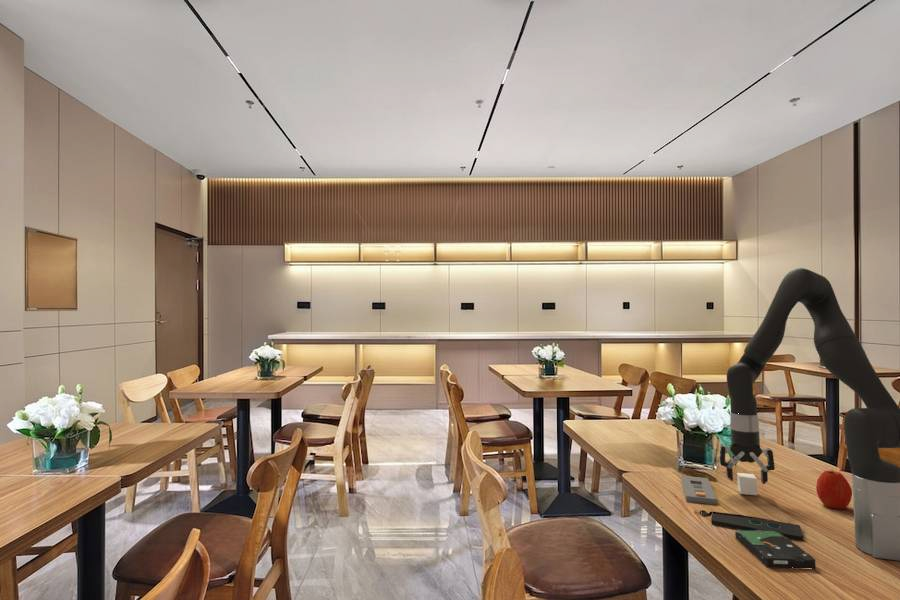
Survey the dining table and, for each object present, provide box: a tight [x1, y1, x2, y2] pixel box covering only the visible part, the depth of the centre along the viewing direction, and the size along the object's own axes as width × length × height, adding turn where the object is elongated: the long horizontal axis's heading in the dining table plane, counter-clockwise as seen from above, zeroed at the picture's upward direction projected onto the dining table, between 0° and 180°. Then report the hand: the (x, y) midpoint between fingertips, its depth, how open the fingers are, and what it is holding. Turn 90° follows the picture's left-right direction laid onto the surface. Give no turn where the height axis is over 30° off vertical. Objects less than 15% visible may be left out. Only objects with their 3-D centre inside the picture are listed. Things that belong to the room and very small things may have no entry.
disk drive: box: [734, 529, 817, 570], centre depth 112 cm, size 10×3×15 cm
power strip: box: [680, 475, 718, 517], centre depth 145 cm, size 26×8×4 cm, turn 158°
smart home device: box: [710, 511, 804, 542], centre depth 125 cm, size 8×2×20 cm
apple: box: [815, 470, 853, 510], centre depth 138 cm, size 8×8×11 cm
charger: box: [736, 472, 759, 496], centre depth 146 cm, size 4×4×6 cm
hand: (747, 481), depth 146 cm, fingers open, 8 cm apart
